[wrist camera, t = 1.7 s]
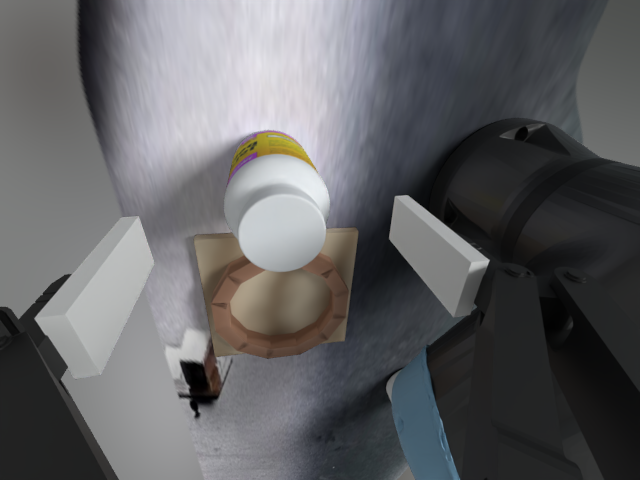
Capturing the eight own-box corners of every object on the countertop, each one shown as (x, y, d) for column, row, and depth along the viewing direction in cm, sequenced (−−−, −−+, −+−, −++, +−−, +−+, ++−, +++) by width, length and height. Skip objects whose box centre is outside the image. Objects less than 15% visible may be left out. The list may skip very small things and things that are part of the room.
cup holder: (355, 227, 31) (364, 241, 29) (342, 334, 39) (348, 353, 36) (195, 234, 28) (189, 251, 25) (216, 350, 36) (213, 371, 33)
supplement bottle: (251, 113, 24) (250, 147, 13) (320, 151, 26) (368, 207, 16) (220, 184, 26) (197, 265, 15) (286, 212, 29) (308, 299, 18)
